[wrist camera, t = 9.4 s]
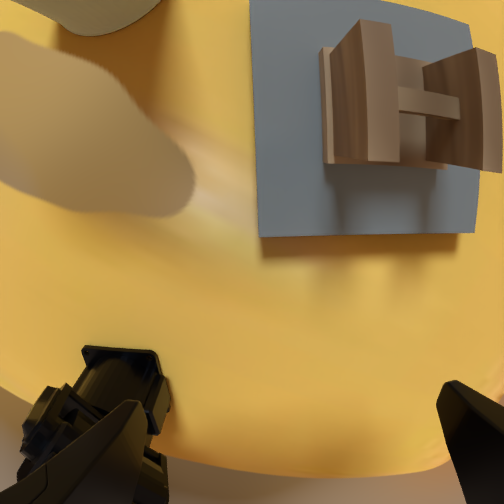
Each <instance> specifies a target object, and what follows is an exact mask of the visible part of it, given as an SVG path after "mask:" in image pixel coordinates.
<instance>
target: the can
mask: <svg viewBox="0 0 504 504" xmlns="http://www.w3.org/2000/svg"><path fill="white" fill-rule="evenodd" d="M11 1H14V2H16V3H19V4H21V5H23V6H25V7H27V8H30V9H32V10H34V11H36V12H38V13H40V14H42V15H44V16H46V17H48V18H50V19H52V20H54V21H56V22H58V23H60V24H61V25H62V26H63V27H64V28H66V29H67V30H68V31H70V32H72V33H74V34H77V35H82V36H98V35H104V34H108V33H111V32H114V31H117V30H119V29H122V28H124V27H126V26H128V25H130V24H132V23H134V22H135V21H137V20H138V19H140V18H141V17H143V16H144V15H146V14H147V13H148V12H149V11H150V10H152V9H153V8H154V7H155V6H156V5H157V4H158V3H159V2H160V1H161V0H11Z"/></svg>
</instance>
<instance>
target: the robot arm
mask: <svg viewBox="0 0 504 504" xmlns="http://www.w3.org/2000/svg"><path fill="white" fill-rule="evenodd" d="M87 351H88V352H89V353H88V352H87ZM81 352H82V355H83V358H84V360H85V363H86V368H85V369H84V371H83V372H82V374H81V375H80V377H79V378H78V380H77V381H76V383H75V384H74V386H73V387H71V386H69V385H68V384H67V383H65V384H64V385H63V386H62V387H61V388H60V389H59V388H54V387H50V386H47V387H46V388H45V389H44V391H43V392H42V394H41V395H40V396H39V398H38V399H37V401H36V402H35V404H34V405H33V407H32V409H31V410H30V412H29V414H28V416H27V417H26V419H25V421H24V423H23V424H22V428H23V433H24V437H23V440H22V442H23V443H22V446H21V449H20V453H21V454H22V455H23V456H25V457H26V458H25V460H24V461H23V463H22V464H21V466H20V468H19V469H18V471H17V483H16V484H14V485H12V486H11V487H9V488H7V489H5V490H3V491H2V492H0V504H168V502H169V490H168V475H167V459H166V456H164V455H163V454H161V453H157V452H156V451H154V450H153V449H151V448H149V447H150V444H151V441H152V437H153V435H156V436H158V435H159V434H160V433H161V430H162V426H163V423H164V419H165V416H166V413H168V412H169V410H170V404H169V403H170V399H171V398H170V395H169V391H168V387H167V383H166V379H165V377H164V376H163V375H162V374H161V370H160V366H159V362H158V358H157V355H156V353H155V352H154V351H152V350H141V349H126V348H112V347H100V346H90V345H85V346H84V347H83V348H82V350H81ZM148 356H151V357H152V358H150V357H148ZM436 407H437V411H438V415H439V418H440V422H441V426H442V430H443V433H444V437H445V441H446V445H447V448H448V451H449V453H450V456H451V459H452V461H453V464H454V467H455V470H456V473H457V476H458V478H459V482H460V485H461V488H462V491H463V494H464V497H465V500H466V503H467V504H504V407H503V406H502V405H500V404H498V403H496V402H494V401H493V400H491V399H489V398H487V397H486V396H484V395H482V394H480V393H479V392H477V391H475V390H473V389H472V388H470V387H468V386H466V385H465V384H463V383H461V382H459V381H457V380H452V381H448V382H445V383H444V384H443V387H442V389H441V392H440V394H439V396H438V399H437V402H436Z"/></svg>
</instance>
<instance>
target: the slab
mask: <svg viewBox="0 0 504 504" xmlns="http://www.w3.org/2000/svg"><path fill="white" fill-rule="evenodd" d="M249 3H250V24H251V47H252V70H253V94H254V119H255V145H256V172H257V200H258V229H259V237H284V236H320V235H363V234H421V233H474V232H475V224H476V215H477V206H478V194H479V179H480V170H477V169H472V168H467V167H461V166H456V165H450V164H448V169H447V170H442V169H430V168H418V167H404V166H387V165H365V164H328V163H324V162H323V145H322V110H321V87H320V70H319V54H318V53H319V52H320V50H321V49H322V47H334V48H335V47H336V46H337V45H338V43H339V42H340V41H341V40H342V39H343V38H344V36H345V35H346V34H347V33H348V32H349V31H350V29H351V28H352V27H353V26H354V25H355V24H356V23H357V21H358V20H359V19H363V20H370V21H376V22H382V23H387V24H391V28H392V35H393V43H394V52H395V55H397V56H402V57H407V58H413V59H417V60H422V61H427V62H431V63H434V62H436V61H439V60H442V59H444V58H447V57H450V56H452V55H455V54H458V53H461V52H464V51H467V50H469V49H472V48H473V45H472V39H471V34H470V29H469V25H468V24H465V23H462V22H459V21H456V20H454V19H450V18H447V17H444V16H441V15H438V14H434V13H431V12H428V11H424V10H420V9H416V8H412V7H408V6H404V5H400V4H395V3H391V2H386V1H381V0H249Z"/></svg>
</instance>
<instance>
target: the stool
mask: <svg viewBox="0 0 504 504" xmlns="http://www.w3.org/2000/svg"><path fill="white" fill-rule="evenodd" d="M318 54H319V70H320V87H321V110H322V145H323V162H324V163H328V164H365V165H387V166H404V167H418V168H430V169H442V170H447V169H448V164H450V165H456V166H461V167H467V168H472V169H477V170H482V171H489V172H496V173H502V148H503V138H502V109H501V95H500V84H499V75H498V67H497V60H496V55H495V54H492V53H490V52H487V51H485V50H482V49H479V48H476V47H475V48H472V49H469V50H467V51H464V52H461V53H458V54H455V55H452V56H450V57H447V58H444V59H442V60H439V61H436V62H434V63H431V62H427V61H422V60H417V59H413V58H407V57H402V56H397V55H395V52H394V43H393V35H392V28H391V24H387V23H382V22H376V21H370V20H363V19H359V20H358V21H357V23H356V24H355V25H354V26H353V27H352V28H351V29H350V31H349V32H348V33H347V34H346V35H345V36H344V38H343V39H342V40H341V41H340V42H339V43H338V45H337V46H336V47H335V48H334V47H322V49H321V50H320V52H319V53H318Z"/></svg>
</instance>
